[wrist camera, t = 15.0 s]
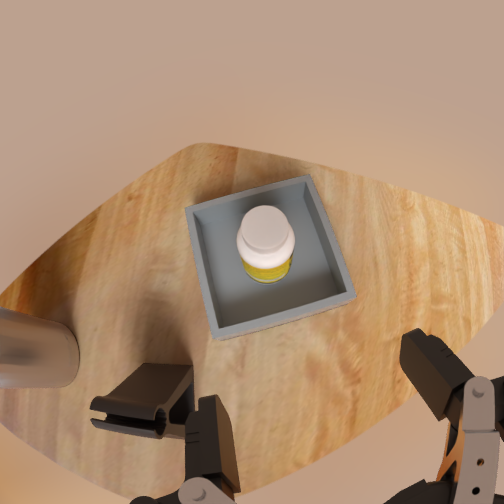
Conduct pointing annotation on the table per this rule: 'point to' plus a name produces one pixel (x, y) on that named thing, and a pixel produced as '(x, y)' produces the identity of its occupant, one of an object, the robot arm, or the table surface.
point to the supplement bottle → (266, 244)
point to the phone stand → (149, 402)
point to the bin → (260, 295)
